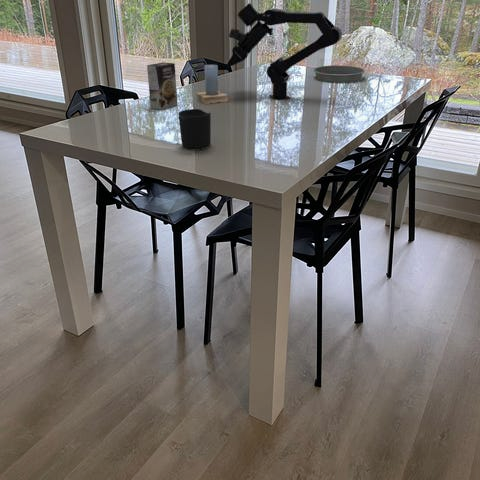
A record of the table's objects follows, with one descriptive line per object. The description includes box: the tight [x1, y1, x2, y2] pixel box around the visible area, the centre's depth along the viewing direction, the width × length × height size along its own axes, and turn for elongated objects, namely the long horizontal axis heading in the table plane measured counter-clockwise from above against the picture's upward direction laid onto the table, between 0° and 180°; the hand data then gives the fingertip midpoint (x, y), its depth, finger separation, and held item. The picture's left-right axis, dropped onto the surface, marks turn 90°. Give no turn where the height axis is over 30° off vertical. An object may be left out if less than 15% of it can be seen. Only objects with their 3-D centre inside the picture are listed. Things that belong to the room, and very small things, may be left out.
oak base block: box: [196, 90, 229, 105], centre depth 198 cm, size 10×10×2 cm
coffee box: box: [146, 61, 178, 111], centre depth 186 cm, size 9×6×16 cm
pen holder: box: [178, 108, 212, 150], centre depth 145 cm, size 9×9×10 cm
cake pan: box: [313, 64, 366, 84], centre depth 235 cm, size 25×25×4 cm
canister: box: [204, 64, 220, 96], centre depth 195 cm, size 5×5×11 cm
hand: (228, 64), depth 199 cm, fingers open, 9 cm apart
